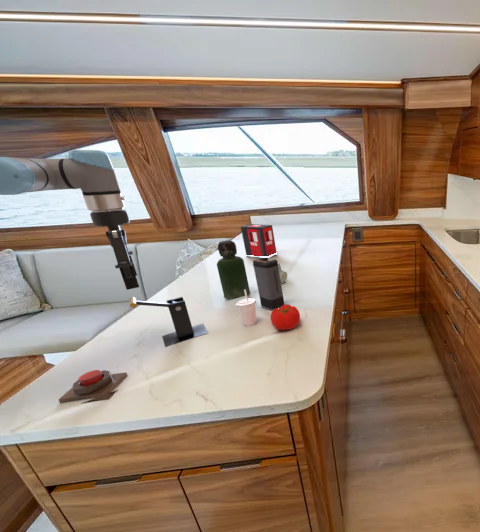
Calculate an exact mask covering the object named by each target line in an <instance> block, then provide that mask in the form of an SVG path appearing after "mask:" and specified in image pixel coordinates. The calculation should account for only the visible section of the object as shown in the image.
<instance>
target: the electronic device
mask: <svg viewBox="0 0 480 532" xmlns="http://www.w3.org/2000/svg"><path fill="white" fill-rule="evenodd" d="M278 262H279V261H278V260H277V259H276V258H275V259H270V260H269V259H268V258H255V259H254V260H252V265H253V270H254V276H255V280H256V287H257V292H258V296H259V301H260V306H261V307H262V308H264V307H265V309H267V308H268V310H270V309H271V310H270V311H273V310H274V309H278V308H280V307H281V306H283V305H285V300H284V292H283V287H282V283H281V280H280V274H279V268H278Z"/></svg>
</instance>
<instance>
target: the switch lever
mask: <svg viewBox="0 0 480 532" xmlns="http://www.w3.org/2000/svg"><path fill="white" fill-rule="evenodd" d="M128 300H129V301H128V302H129V307H130V308H131V309H135V308H137V307H138V306H148V307H160V308H161V307H163V308H168V304H172V303H176V302H179V301H172V303H167V302H160V301H158V302H157V301H148V300H145V301H144V300H137V298H136V297H135V296H132V297H129V299H128Z"/></svg>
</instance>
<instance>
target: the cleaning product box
mask: <svg viewBox="0 0 480 532" xmlns="http://www.w3.org/2000/svg"><path fill="white" fill-rule="evenodd" d="M273 228H274V227H273V225H272V224H254V223H251V224H246V225H242V226H240V230H241V235H242V239H243V244H244V250H245V256H246V255H254V256H269V255H271V254H274V253H276V252H277V246H276V240H275V234H274V229H273Z"/></svg>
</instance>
